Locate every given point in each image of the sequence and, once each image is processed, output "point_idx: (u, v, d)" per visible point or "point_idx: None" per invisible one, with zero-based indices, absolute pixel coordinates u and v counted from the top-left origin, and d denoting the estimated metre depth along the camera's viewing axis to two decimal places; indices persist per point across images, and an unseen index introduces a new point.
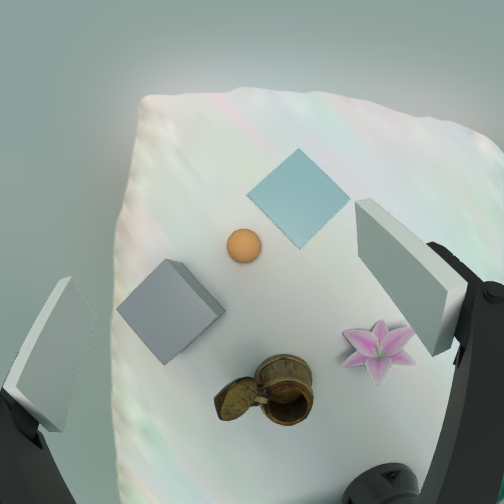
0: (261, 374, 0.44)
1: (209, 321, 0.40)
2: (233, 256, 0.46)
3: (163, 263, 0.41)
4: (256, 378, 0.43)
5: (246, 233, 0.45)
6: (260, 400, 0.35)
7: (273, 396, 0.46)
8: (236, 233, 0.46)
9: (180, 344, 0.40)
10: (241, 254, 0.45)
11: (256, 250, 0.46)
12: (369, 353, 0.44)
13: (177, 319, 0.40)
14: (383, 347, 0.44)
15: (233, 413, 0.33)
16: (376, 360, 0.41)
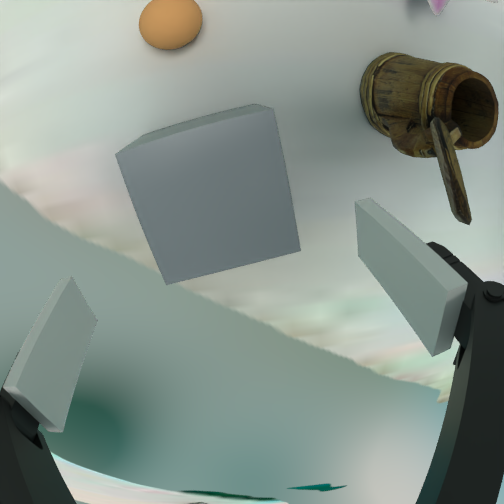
0: (383, 113, 0.24)
1: (273, 128, 0.18)
2: (177, 41, 0.19)
3: (121, 162, 0.18)
4: (390, 122, 0.23)
5: (153, 4, 0.17)
6: (454, 138, 0.16)
7: None
8: (142, 19, 0.17)
9: (283, 203, 0.21)
10: (183, 25, 0.18)
11: (191, 2, 0.17)
12: None
13: (236, 184, 0.20)
14: None
15: (464, 193, 0.15)
16: None
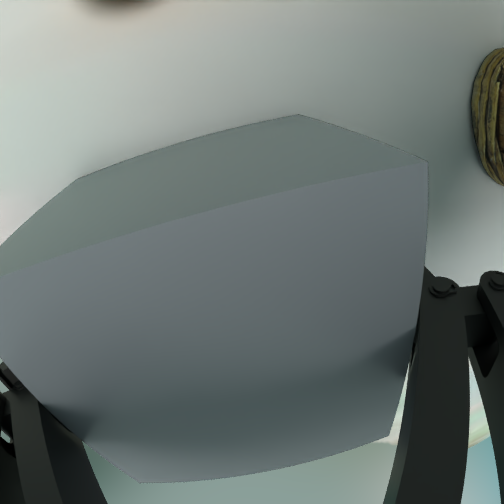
0: None
1: (418, 227, 0.05)
2: None
3: None
4: None
5: None
6: None
7: None
8: None
9: (386, 389, 0.08)
10: None
11: None
12: None
13: (284, 377, 0.07)
14: None
15: None
16: None
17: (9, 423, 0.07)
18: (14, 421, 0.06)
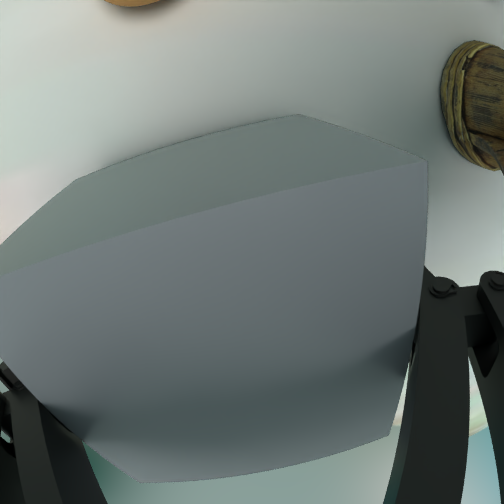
0: (479, 130, 0.13)
1: (418, 226, 0.05)
2: None
3: None
4: (497, 148, 0.12)
5: None
6: None
7: None
8: None
9: (386, 388, 0.08)
10: None
11: None
12: None
13: (284, 376, 0.07)
14: None
15: None
16: None
17: (9, 423, 0.07)
18: (14, 421, 0.06)
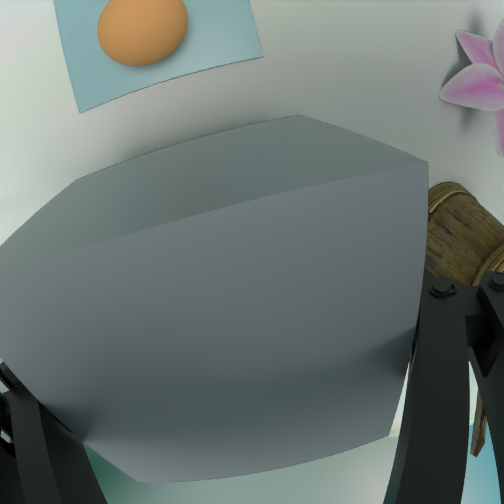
0: None
1: (418, 228, 0.05)
2: None
3: None
4: None
5: None
6: None
7: None
8: None
9: (386, 389, 0.08)
10: None
11: None
12: None
13: (284, 378, 0.07)
14: None
15: None
16: None
17: (9, 423, 0.07)
18: (14, 421, 0.06)
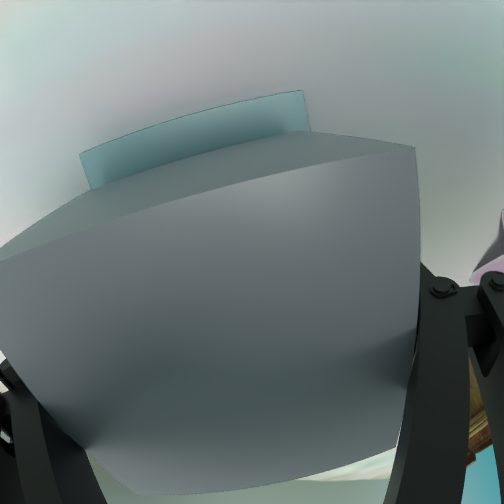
0: None
1: (410, 212, 0.05)
2: None
3: None
4: None
5: None
6: (467, 466, 0.19)
7: None
8: None
9: (390, 392, 0.07)
10: None
11: None
12: None
13: (283, 374, 0.07)
14: None
15: None
16: None
17: (9, 423, 0.07)
18: (14, 421, 0.06)
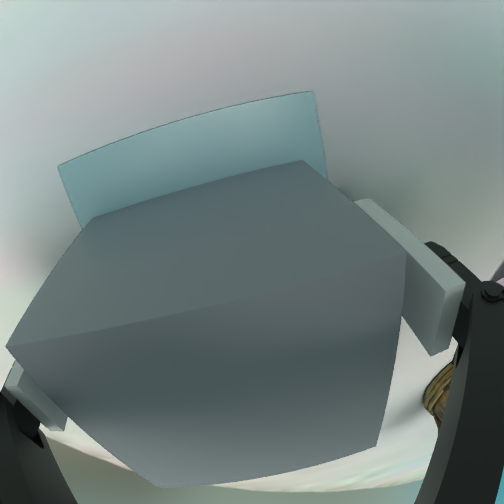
0: (438, 417, 0.24)
1: (395, 299, 0.07)
2: None
3: (24, 362, 0.06)
4: None
5: None
6: None
7: None
8: None
9: (370, 411, 0.09)
10: None
11: None
12: None
13: (285, 406, 0.08)
14: None
15: None
16: None
17: None
18: None
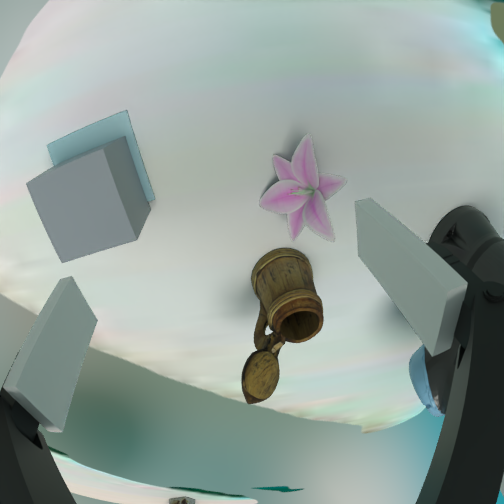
0: (261, 300, 0.44)
1: (104, 161, 0.27)
2: None
3: (29, 187, 0.27)
4: (260, 312, 0.43)
5: None
6: (277, 347, 0.37)
7: None
8: None
9: (118, 208, 0.30)
10: None
11: None
12: (300, 201, 0.37)
13: (88, 198, 0.29)
14: (303, 181, 0.37)
15: (271, 380, 0.36)
16: (311, 207, 0.36)
17: None
18: None
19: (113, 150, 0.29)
